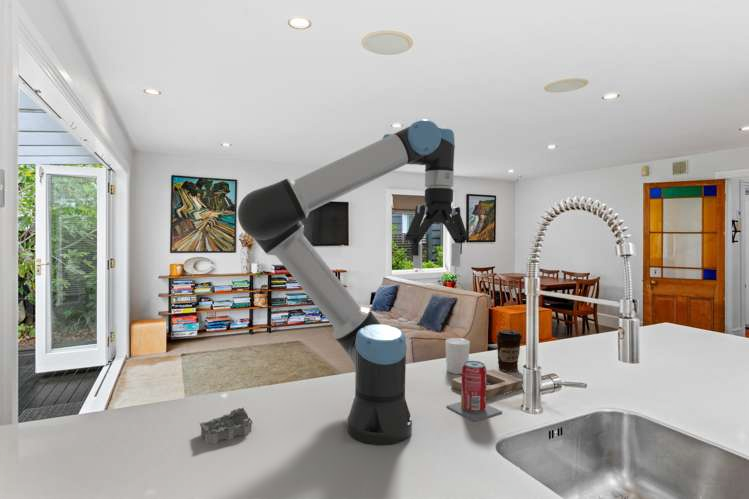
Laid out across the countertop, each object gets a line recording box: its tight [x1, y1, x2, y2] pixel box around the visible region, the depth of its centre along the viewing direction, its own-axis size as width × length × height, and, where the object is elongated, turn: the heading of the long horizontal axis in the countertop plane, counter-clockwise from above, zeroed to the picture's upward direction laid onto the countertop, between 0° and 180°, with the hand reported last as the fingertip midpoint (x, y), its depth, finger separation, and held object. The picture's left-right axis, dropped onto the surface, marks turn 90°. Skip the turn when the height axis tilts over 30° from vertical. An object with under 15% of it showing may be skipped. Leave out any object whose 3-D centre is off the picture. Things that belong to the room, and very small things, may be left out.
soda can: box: [460, 360, 487, 413], centre depth 111 cm, size 6×6×12 cm
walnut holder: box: [451, 368, 524, 400], centre depth 127 cm, size 18×12×2 cm, turn 123°
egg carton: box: [199, 407, 254, 445], centre depth 97 cm, size 11×8×4 cm
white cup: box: [445, 337, 471, 375], centre depth 142 cm, size 8×8×10 cm
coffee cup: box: [496, 329, 523, 373], centre depth 144 cm, size 9×8×13 cm
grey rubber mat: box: [446, 401, 503, 423], centre depth 112 cm, size 10×10×1 cm
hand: (437, 267), depth 116 cm, fingers open, 13 cm apart
